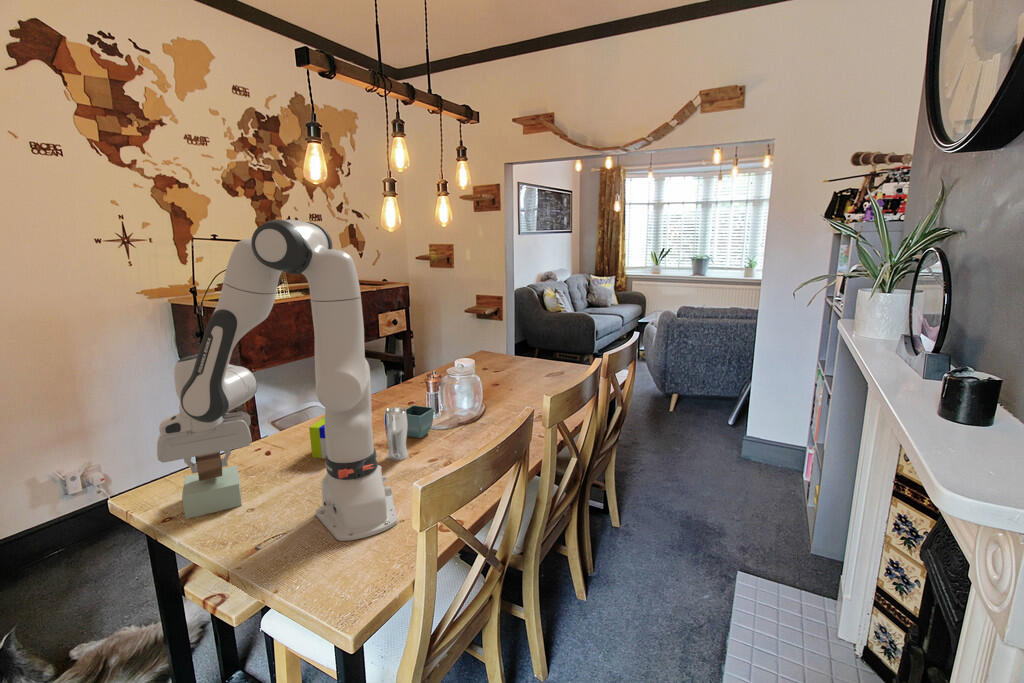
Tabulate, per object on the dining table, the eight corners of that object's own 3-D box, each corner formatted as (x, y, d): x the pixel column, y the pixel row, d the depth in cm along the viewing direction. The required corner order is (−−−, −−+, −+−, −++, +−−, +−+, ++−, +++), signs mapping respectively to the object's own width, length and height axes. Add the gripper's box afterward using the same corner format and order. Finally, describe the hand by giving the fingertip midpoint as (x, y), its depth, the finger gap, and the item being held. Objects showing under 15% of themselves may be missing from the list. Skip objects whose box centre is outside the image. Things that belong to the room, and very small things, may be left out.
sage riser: (241, 505, 124) (238, 483, 123) (185, 519, 118) (181, 496, 117) (240, 485, 134) (237, 465, 133) (188, 497, 128) (185, 476, 127)
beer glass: (384, 454, 153) (381, 408, 150) (407, 450, 156) (404, 405, 153) (388, 463, 147) (385, 416, 144) (411, 458, 149) (409, 412, 146)
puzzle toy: (341, 459, 149) (338, 429, 147) (312, 457, 151) (309, 427, 149) (357, 446, 159) (355, 417, 157) (330, 444, 161) (327, 415, 159)
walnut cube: (222, 476, 124) (219, 457, 123) (199, 481, 122) (196, 462, 120) (222, 468, 128) (219, 450, 127) (199, 473, 126) (197, 455, 125)
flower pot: (399, 438, 165) (398, 413, 163) (414, 428, 173) (412, 404, 171) (421, 441, 162) (420, 416, 160) (435, 432, 170) (434, 407, 168)
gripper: (248, 406, 129) (255, 454, 132) (154, 421, 119) (163, 473, 122) (249, 413, 124) (256, 463, 127) (151, 430, 114) (160, 484, 117)
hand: (210, 468), depth 124 cm, fingers closed on walnut cube, 5 cm apart
